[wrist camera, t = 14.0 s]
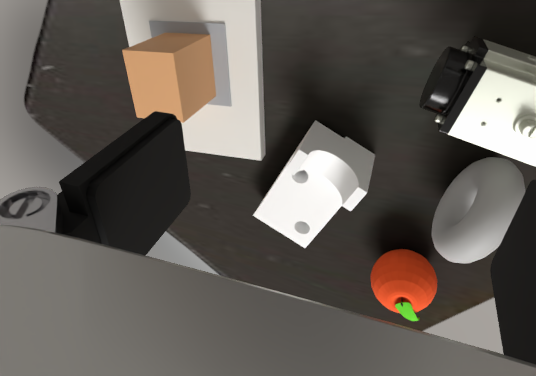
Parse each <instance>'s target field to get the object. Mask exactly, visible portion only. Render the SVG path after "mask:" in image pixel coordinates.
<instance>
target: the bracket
mask: <svg viewBox="0 0 536 376" xmlns="http://www.w3.org/2000/svg"><path fill="white" fill-rule="evenodd" d="M374 158H375V154H373V153H372V152H370V151H369V150H367V149H365V148H364V147H362V146H361V145H359V144H358V143H356V142H354V141H353V140H351V139H350V138H348V137H347V136H346V137H345V138H343V137H341V136H340V135H338V134H336V133H335V132H333V131H332V130H330V129H329V128H327V127H325V126H324V125H322V124H321V123H319V122H318V121H316V120H315V121H314V123H313V124H312V126H311V127H310V129H309V130H308V132H307V133H306V135H305V136H304V138H303V140H302V141H301V143H300V144H299V146H298V147H297V149H296V150H295V152H294V153H293V155H292V156H291V158H290V159H289V161H288V162H287V164H286V165H285V167H284V168H283V170H282V171H281V173H280V174H279V176H278V177H277V179H276V180H275V182H274V183H273V185H272V187H271V188H270V190H269V191H268V193H267V194H266V196H265V197H264V199H263V200H262V202H261V203H260V205H259V207H258V208H257V210H256V212H255V213H254V215H253V216H255V217H256V218H258V219H259V220H261V221H263V222H264V223H266V224H267V225H269V226H271V227H272V228H274V229H275V230H277V231H278V232H280V233H282V234H283V235H285V236H286V237H288V238H290V239H291V240H293V241H294V242H296V243H298V244H299V245H301V246H302V247H304V248H306V247H307V245H308V244H309V243H310V242H311V241H312V240H313V238H314V237H315V236H316V235H317V234H318V233H319V232H320V230H321V229H322V228H323V227H324V226H325V225H326V223H327V222H328V221H329V220H330V219H331V218H332V216H333V215H334V214H335V213H336V212H337V211H338V209H339V208H340V207H341V206H343V207H345V208H346V209H348V210H349V211H351V210H352V209H353V208H354V207H355V206H356V205H357V204H358V203H359V201H360V200H361V199H362V198H363V197H364V196H365V195H366V194H367V192H368V187H369V182H370V178H371V173H372V168H373V163H374ZM303 170H305V171H303Z"/></svg>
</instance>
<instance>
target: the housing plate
mask: <svg viewBox="0 0 536 376" xmlns="http://www.w3.org/2000/svg"><path fill="white" fill-rule="evenodd" d="M120 4H121V9H122V14H123V18H124V23H125V28H126V33H127V38H128V42H129V47H131V46H134V45H136V44H138V43H141V42H143V41H146V40H148V39H151V38H153V37H156V36H158V35H160V34H163V33H165V32H166V33H188V34H210V38H211V48H212V58H213V68H214V78H215V88H216V97H214V98H213V99H212V100H211V101H210V102H208V103H207V104H206V105H205V106H203V107H202V108H201V109H200V110H199V111H197V112H196V113H195V114H194V115H192V116H191V117H190V118H189V119H188V120H186V121H185V122H184V123H182V122H181V124H182V130H183V138H184V146H185V150H187V151H194V152H202V153H209V154H216V155H224V156H231V157H238V158H246V159H253V160H260V161H261V160H262V159H263V157H264V156H265V124H264V92H263V60H262V28H261V0H120ZM144 119H145V118H144Z"/></svg>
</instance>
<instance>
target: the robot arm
mask: <svg viewBox="0 0 536 376" xmlns="http://www.w3.org/2000/svg"><path fill="white" fill-rule="evenodd" d="M59 183H60V186H61V189H62V192H61V193H59V194H58V195H57V194H56V192H54V191H53V190H52V189H49V188H46V187H32V188H25V189H21V190H18V191H16V192H13V193H10V194H9V195H7V196H5V197H3V198H2V199H0V376H536V180H532V181H531V182H530V184H529V186H528V188H527V190H526V192H525V194H524V196H523V198H522V200H521V202H520V204H519V207H518V209H517V211H516V213H515V215H514V217H513V219H512V221H511V223H510V225H509V227H508V229H507V231H506V233H505V235H504V238H503V240H502V242H501V244H500V246H499V248H498V250H497V252H496V254H495V256H494V258H493V261H492V264H491V278H492V285H493V291H494V297H495V303H496V309H497V315H498V322H499V328H500V334H501V340H502V346H503V353H504V355H503V354H500V353H497V352H493V351H490V350H486V349H482V348H479V347H475V346H471V345H468V344H464V343H461V342H457V341H454V340H450V339H447V338H444V337H440V336H437V335H433V334H429V333H426V332H422V331H419V330H415V329H411V328H408V327H404V326H401V325H397V324H394V323H390V322H386V321H383V320H379V319H376V318H372V317H368V316H365V315H361V314H358V313H354V312H350V311H347V310H343V309H340V308H336V307H333V306H329V305H325V304H322V303H318V302H314V301H311V300H307V299H304V298H300V297H296V296H293V295H289V294H285V293H282V292H278V291H274V290H271V289H267V288H263V287H260V286H256V285H252V284H249V283H245V282H241V281H238V280H234V279H230V278H227V277H223V276H219V275H216V274H212V273H208V272H205V271H201V270H197V269H193V268H190V267H186V266H182V265H178V264H175V263H171V262H167V261H164V260H160V259H156V258H152V257H149V256H145V255H146V254H147V253H148V252H149V251H150V249H151V248H152V247H153V246H154V245H155V243H156V242H157V241H158V240H159V238H160V237H161V236H162V235H163V234H164V232H165V231H166V230H167V229H168V227H169V226H170V225H171V224H172V223H173V221H174V220H175V219H176V218H177V216H178V215H179V214H180V213H181V212H182V210H183V209H184V208H185V207H186V205H187V204H188V202H189V200H190V195H191V193H190V184H189V177H188V169H187V161H186V154H185V146H184V138H183V130H182V124H181V122H180V120H177V118H176V116H175V115H174V114H170V113H164V112H158V111H155V112H153V113H151V114H150V115H149V116H147V117H146V118H145V119H143V120H142V121H140V122H139V123H138V124H136V125H135V126H134V127H132V128H131V129H130V130H128V131H127V132H126V133H124V134H123V135H122V136H120V137H119V138H117V139H116V140H115V141H113V142H112V143H111V144H109V145H108V146H107V147H105V148H104V149H103V150H101V151H100V152H98V153H97V154H96V155H94V156H93V157H92V158H90V159H89V160H88V161H86V162H85V163H84V164H82V165H81V166H80V167H78V168H77V169H75V170H74V171H73V172H72V173H70V174H69V175H67V176H66V177H65V178H63V179H62V180H61V181H60V182H59Z"/></svg>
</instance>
